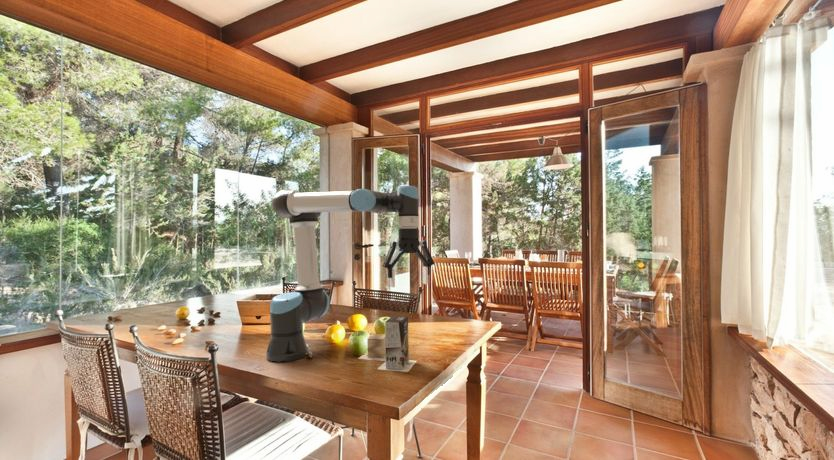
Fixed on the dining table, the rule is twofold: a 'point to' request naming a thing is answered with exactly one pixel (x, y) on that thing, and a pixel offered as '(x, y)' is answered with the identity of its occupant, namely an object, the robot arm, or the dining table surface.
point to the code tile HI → (372, 358)
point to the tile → (406, 369)
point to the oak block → (376, 346)
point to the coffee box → (396, 342)
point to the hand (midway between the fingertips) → (409, 285)
